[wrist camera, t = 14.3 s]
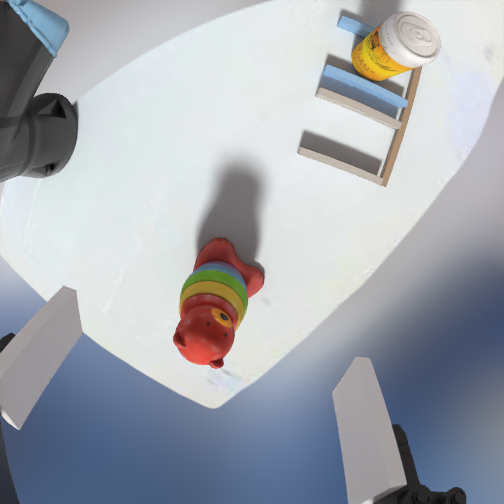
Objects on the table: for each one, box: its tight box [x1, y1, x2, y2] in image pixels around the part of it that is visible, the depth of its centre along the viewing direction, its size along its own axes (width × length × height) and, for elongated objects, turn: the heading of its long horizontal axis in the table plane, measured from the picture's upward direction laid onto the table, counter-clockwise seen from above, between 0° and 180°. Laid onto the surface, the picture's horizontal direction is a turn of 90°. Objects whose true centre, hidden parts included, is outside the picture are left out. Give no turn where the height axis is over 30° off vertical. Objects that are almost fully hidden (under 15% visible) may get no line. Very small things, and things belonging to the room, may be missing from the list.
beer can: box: [352, 12, 441, 81], centre depth 23 cm, size 6×6×15 cm
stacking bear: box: [173, 238, 264, 369], centre depth 37 cm, size 11×10×18 cm
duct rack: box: [297, 15, 422, 187], centre depth 32 cm, size 14×22×2 cm, turn 164°
